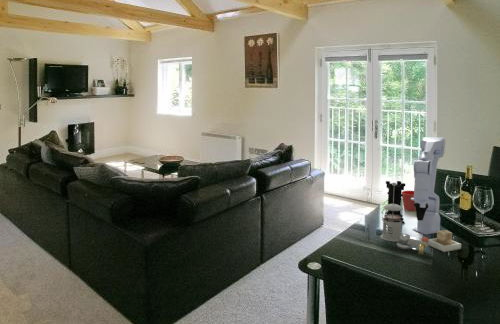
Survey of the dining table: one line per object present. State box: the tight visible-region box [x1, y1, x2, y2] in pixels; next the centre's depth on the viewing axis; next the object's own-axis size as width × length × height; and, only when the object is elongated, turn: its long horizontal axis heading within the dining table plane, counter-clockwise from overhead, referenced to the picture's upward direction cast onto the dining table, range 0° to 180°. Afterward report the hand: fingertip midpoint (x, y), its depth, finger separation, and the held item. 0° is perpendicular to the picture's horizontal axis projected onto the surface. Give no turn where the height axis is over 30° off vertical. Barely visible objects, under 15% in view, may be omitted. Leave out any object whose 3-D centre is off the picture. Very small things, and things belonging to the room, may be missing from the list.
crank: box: [399, 233, 429, 249], centre depth 159 cm, size 11×4×4 cm, turn 49°
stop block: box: [436, 229, 453, 246], centre depth 161 cm, size 4×4×6 cm
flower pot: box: [401, 190, 416, 212], centre depth 218 cm, size 11×11×10 cm
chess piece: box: [383, 180, 406, 225], centre depth 196 cm, size 8×8×20 cm
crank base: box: [396, 241, 425, 256], centre depth 159 cm, size 6×12×4 cm, turn 20°
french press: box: [379, 182, 404, 242], centre depth 173 cm, size 10×12×25 cm
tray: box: [428, 237, 462, 253], centre depth 162 cm, size 9×9×2 cm
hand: (419, 219), depth 166 cm, fingers closed
